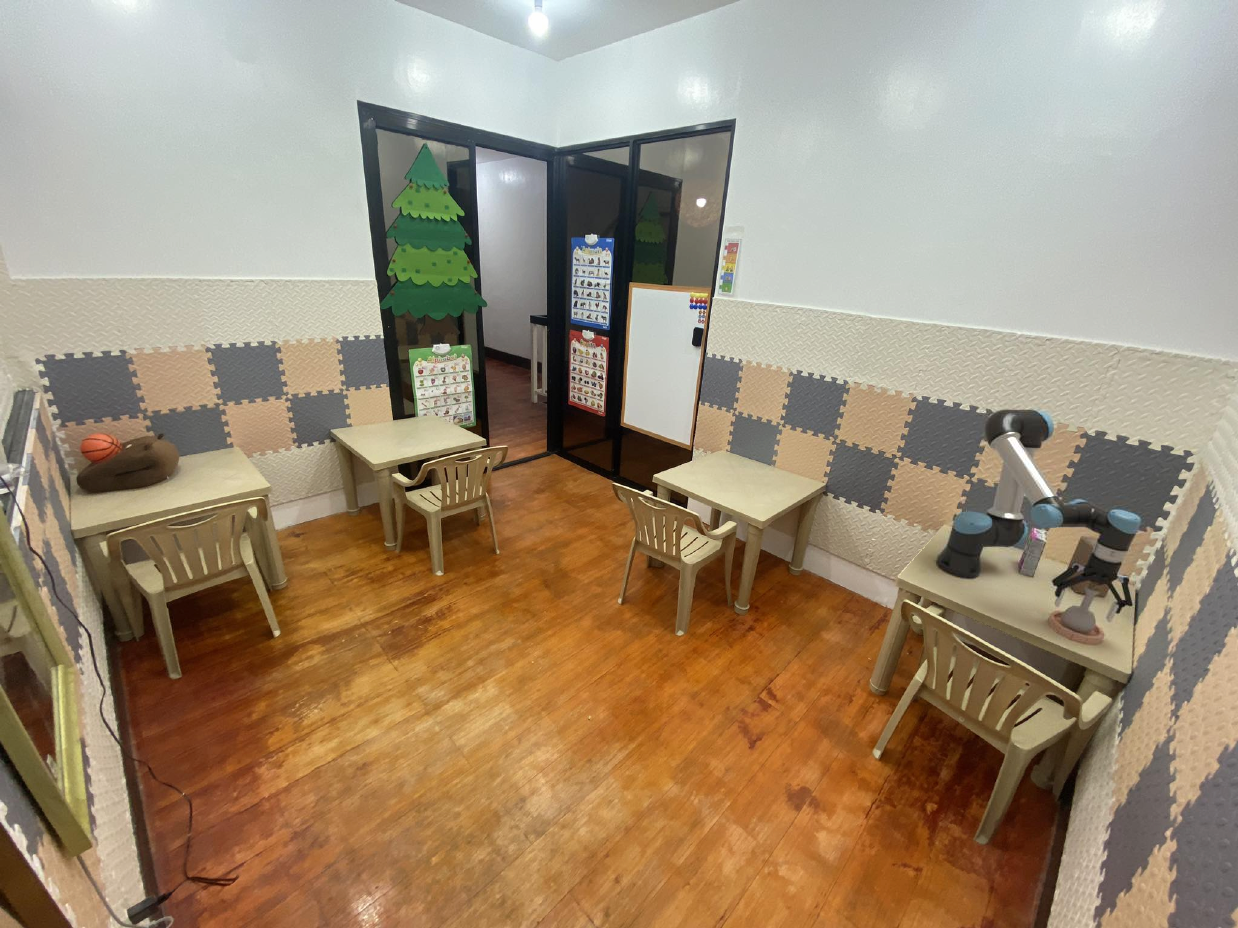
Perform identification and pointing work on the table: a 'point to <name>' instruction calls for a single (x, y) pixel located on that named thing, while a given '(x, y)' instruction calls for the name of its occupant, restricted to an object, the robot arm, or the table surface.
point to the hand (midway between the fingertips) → (1081, 612)
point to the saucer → (1089, 638)
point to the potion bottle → (1081, 612)
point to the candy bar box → (1032, 552)
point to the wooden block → (1081, 558)
